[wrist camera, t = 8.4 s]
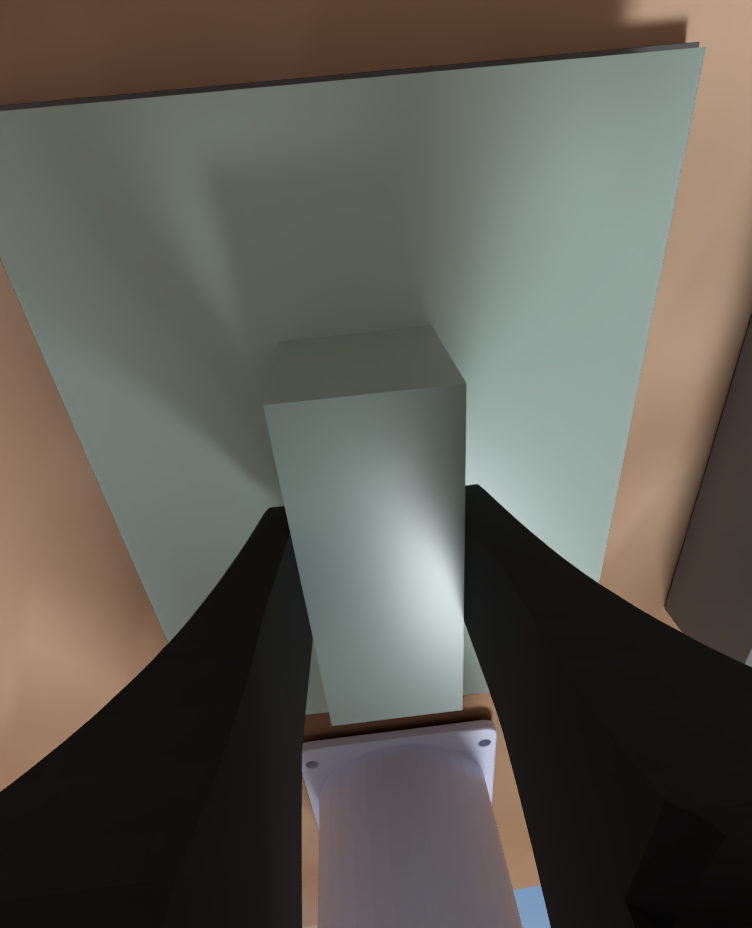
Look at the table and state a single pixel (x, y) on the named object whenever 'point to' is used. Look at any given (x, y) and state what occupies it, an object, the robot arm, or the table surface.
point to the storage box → (722, 534)
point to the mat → (347, 76)
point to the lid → (353, 330)
